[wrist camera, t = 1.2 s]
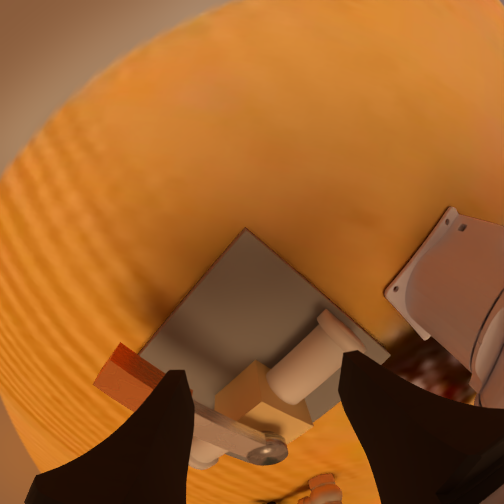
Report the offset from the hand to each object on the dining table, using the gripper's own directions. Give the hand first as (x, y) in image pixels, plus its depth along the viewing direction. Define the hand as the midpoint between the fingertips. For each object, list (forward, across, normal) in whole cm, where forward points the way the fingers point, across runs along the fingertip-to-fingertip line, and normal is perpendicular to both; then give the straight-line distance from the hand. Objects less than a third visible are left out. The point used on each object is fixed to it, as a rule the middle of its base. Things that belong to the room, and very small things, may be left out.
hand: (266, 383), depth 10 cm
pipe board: (+9, 0, +8) cm, 13 cm away
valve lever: (+4, +3, +5) cm, 7 cm away
